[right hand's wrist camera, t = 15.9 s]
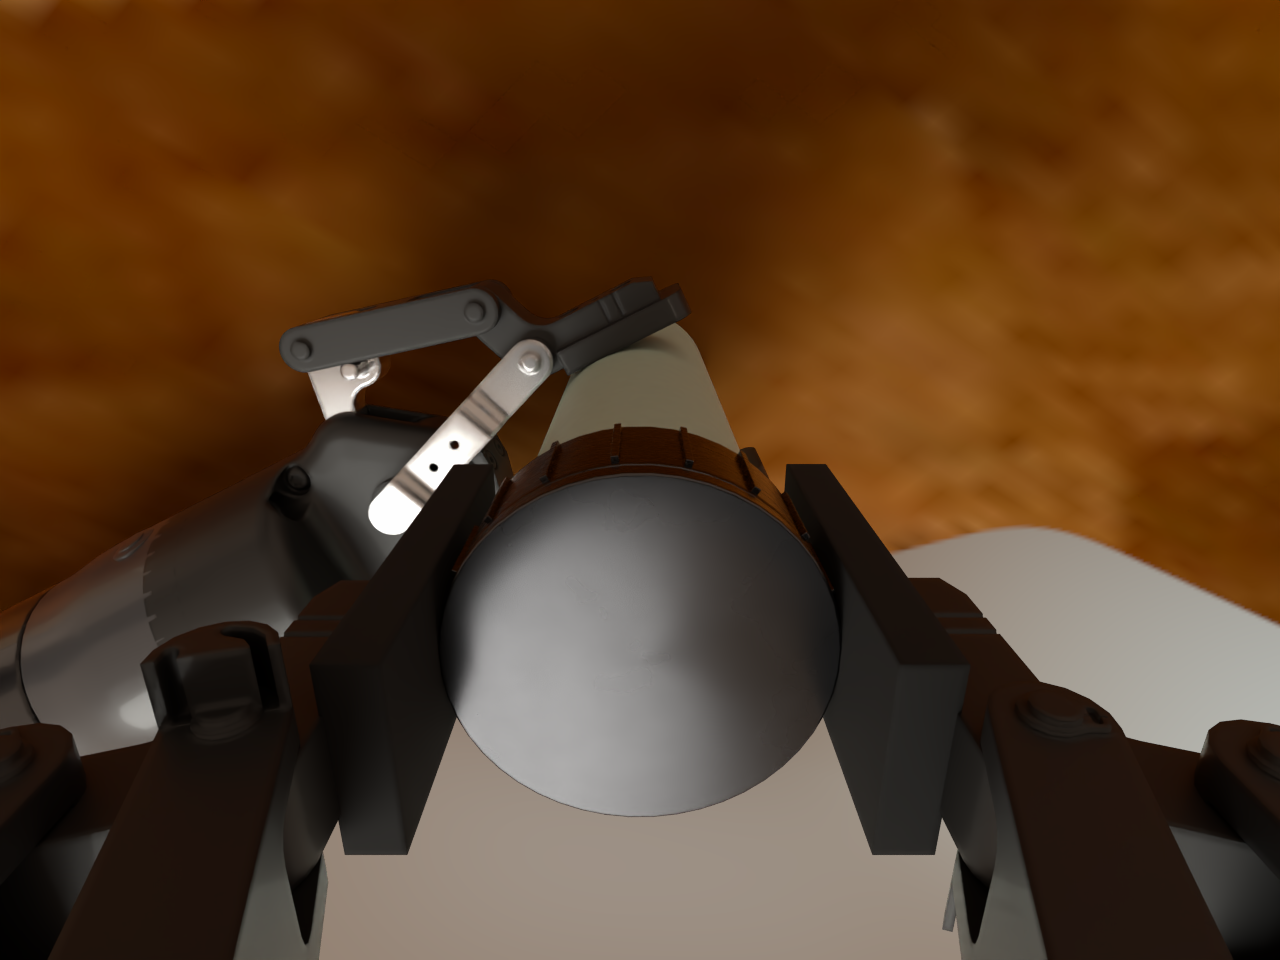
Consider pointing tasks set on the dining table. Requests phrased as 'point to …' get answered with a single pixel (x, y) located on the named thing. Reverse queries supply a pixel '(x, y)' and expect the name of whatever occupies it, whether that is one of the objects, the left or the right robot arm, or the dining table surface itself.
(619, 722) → the lid
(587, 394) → the pale green capped tube
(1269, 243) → the dining table surface
